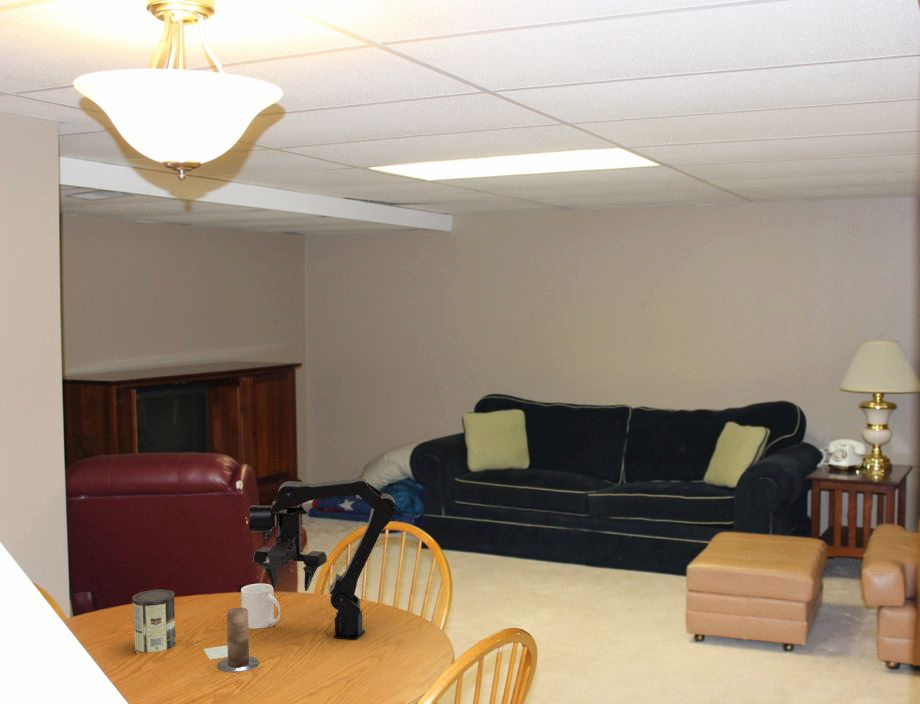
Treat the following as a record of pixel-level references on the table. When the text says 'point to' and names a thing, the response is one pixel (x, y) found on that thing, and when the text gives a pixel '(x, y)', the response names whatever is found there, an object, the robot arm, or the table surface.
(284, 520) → the robot arm
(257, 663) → the grey saucer
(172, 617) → the coffee can
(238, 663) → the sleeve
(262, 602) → the mug
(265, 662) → the table surface
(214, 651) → the stand
